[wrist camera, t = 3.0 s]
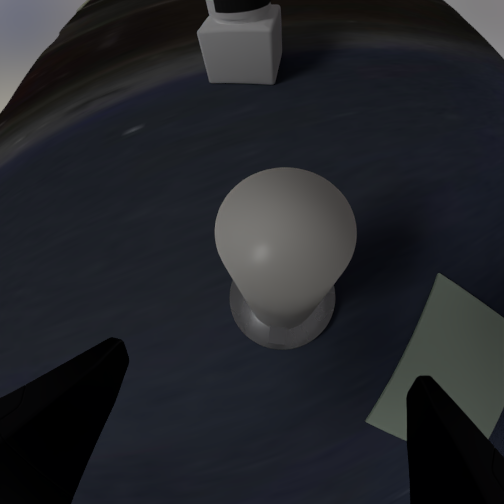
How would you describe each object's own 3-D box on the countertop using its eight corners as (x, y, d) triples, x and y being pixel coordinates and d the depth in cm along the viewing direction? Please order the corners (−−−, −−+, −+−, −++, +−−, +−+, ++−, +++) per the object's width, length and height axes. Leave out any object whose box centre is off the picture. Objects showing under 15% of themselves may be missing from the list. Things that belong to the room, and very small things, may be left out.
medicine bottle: (282, 52, 29) (278, -33, 18) (274, 86, 27) (268, -16, 16) (224, 51, 30) (208, -30, 19) (208, 84, 28) (184, -10, 17)
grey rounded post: (310, 348, 18) (351, 339, 8) (242, 340, 19) (197, 321, 8) (319, 253, 20) (354, 152, 10) (255, 247, 21) (233, 142, 10)
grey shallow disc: (328, 354, 18) (330, 354, 18) (223, 342, 19) (222, 341, 19) (336, 254, 21) (338, 251, 20) (239, 244, 21) (238, 241, 21)
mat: (470, 465, 13) (472, 466, 13) (364, 421, 16) (365, 422, 16) (526, 337, 16) (528, 337, 16) (437, 274, 19) (439, 272, 19)
